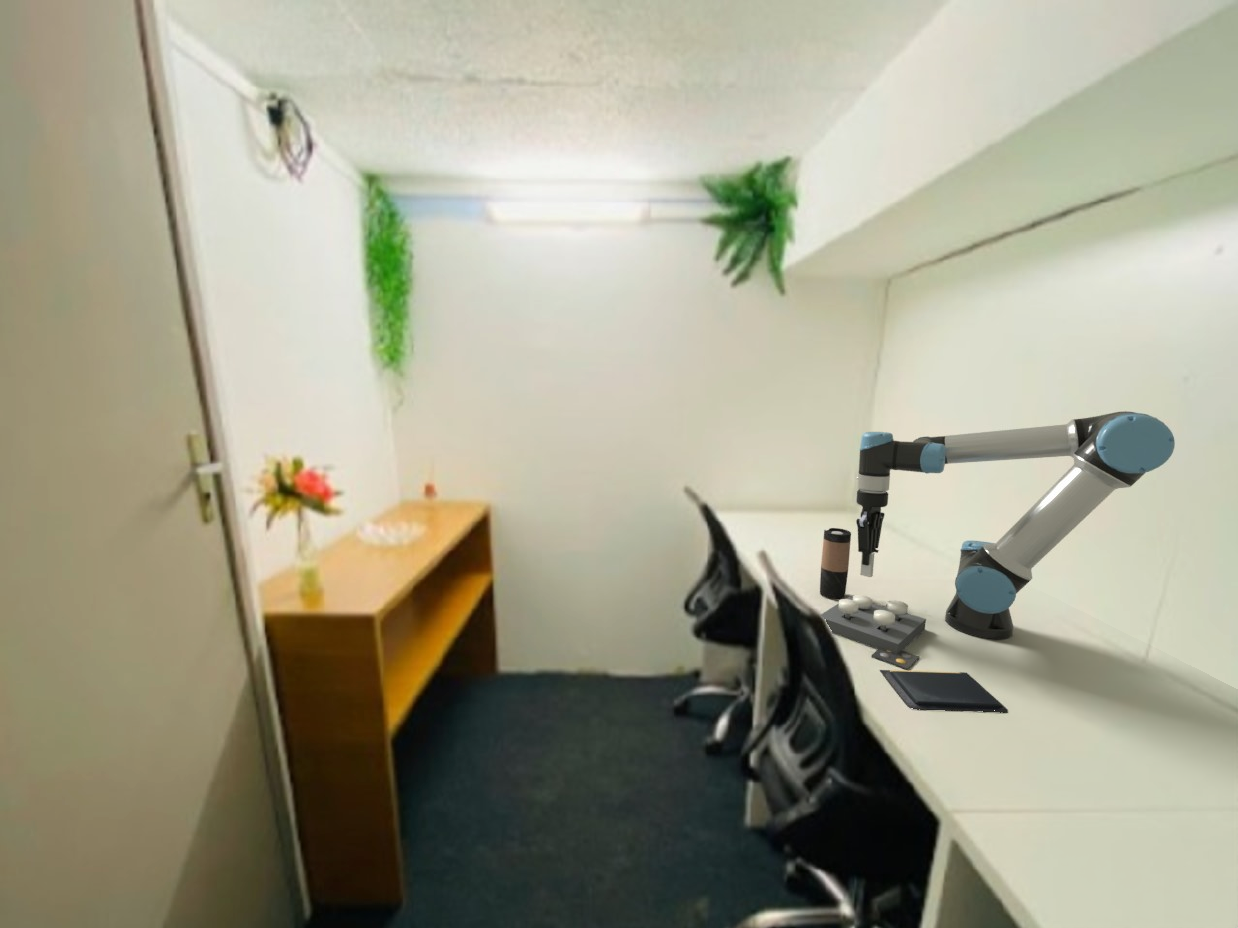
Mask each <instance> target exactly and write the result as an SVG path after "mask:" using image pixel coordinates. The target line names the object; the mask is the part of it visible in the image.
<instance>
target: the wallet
mask: <svg viewBox="0 0 1238 928" xmlns="http://www.w3.org/2000/svg"><path fill="white" fill-rule="evenodd" d="M879 672H880V673H881V674H882V676H883V678H884V679H885V681H886V682H887V683H888V684H889V685H890V686H891V688H892V689H893V690H894V692H895V693H896V695H897V696H898V697H899V698H900V699H901V700H902V702H903V703H904V704H905V705H906V706H907V708H909V709H911V708H913V709H917V710H916V711H926V710H945V711H944V712H963V711H983V712H982V713H986V712H1000V713H999V714H1009V710H1008V709H1007V708H1006V706H1005V705H1004V704H1002V703H1001V702H1000V701H999V700H998V699H997V698H996V697H995V696H994V695H992V694H991V692H989V691H988V690H987V689H986V688H985V687H983V686H982V685H981V683H979V682H978V681H977V680H976V679H975V678H974V677H972V676H971V675H970V674H969V673H968V672H964V671H963V672H961V671H959V672H958V671H938V670H937V671H936V670H935V671H931V670H930V671H929V670H905V669H903V670H902V669H901V670H900V669H890V670H889V669H879ZM919 709H920V710H919ZM994 710H995V711H994ZM1001 712H1003V713H1001Z"/></svg>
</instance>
